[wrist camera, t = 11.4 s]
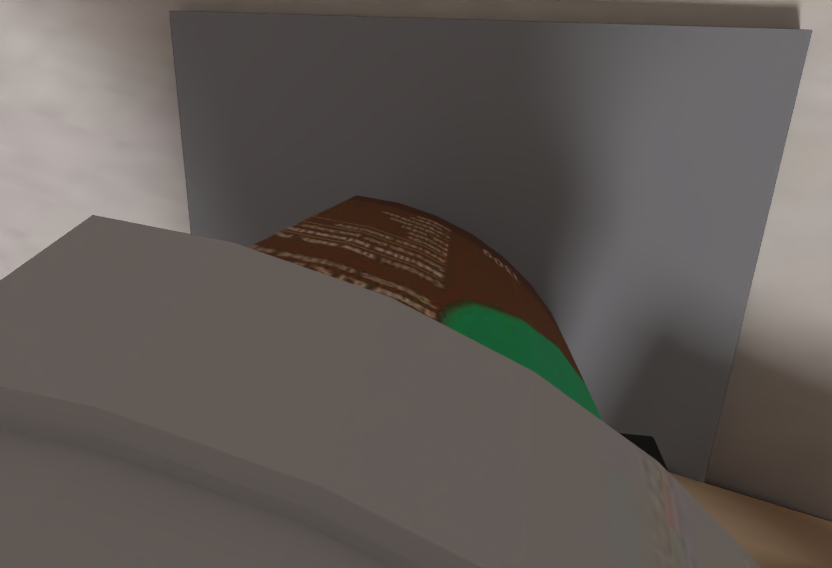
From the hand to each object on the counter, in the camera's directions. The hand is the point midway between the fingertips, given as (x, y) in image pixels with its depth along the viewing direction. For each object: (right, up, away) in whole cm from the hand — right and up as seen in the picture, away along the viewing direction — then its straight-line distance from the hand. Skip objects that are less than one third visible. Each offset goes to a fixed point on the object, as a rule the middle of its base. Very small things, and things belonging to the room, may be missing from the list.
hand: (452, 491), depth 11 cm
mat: (0, +1, +4) cm, 4 cm away
